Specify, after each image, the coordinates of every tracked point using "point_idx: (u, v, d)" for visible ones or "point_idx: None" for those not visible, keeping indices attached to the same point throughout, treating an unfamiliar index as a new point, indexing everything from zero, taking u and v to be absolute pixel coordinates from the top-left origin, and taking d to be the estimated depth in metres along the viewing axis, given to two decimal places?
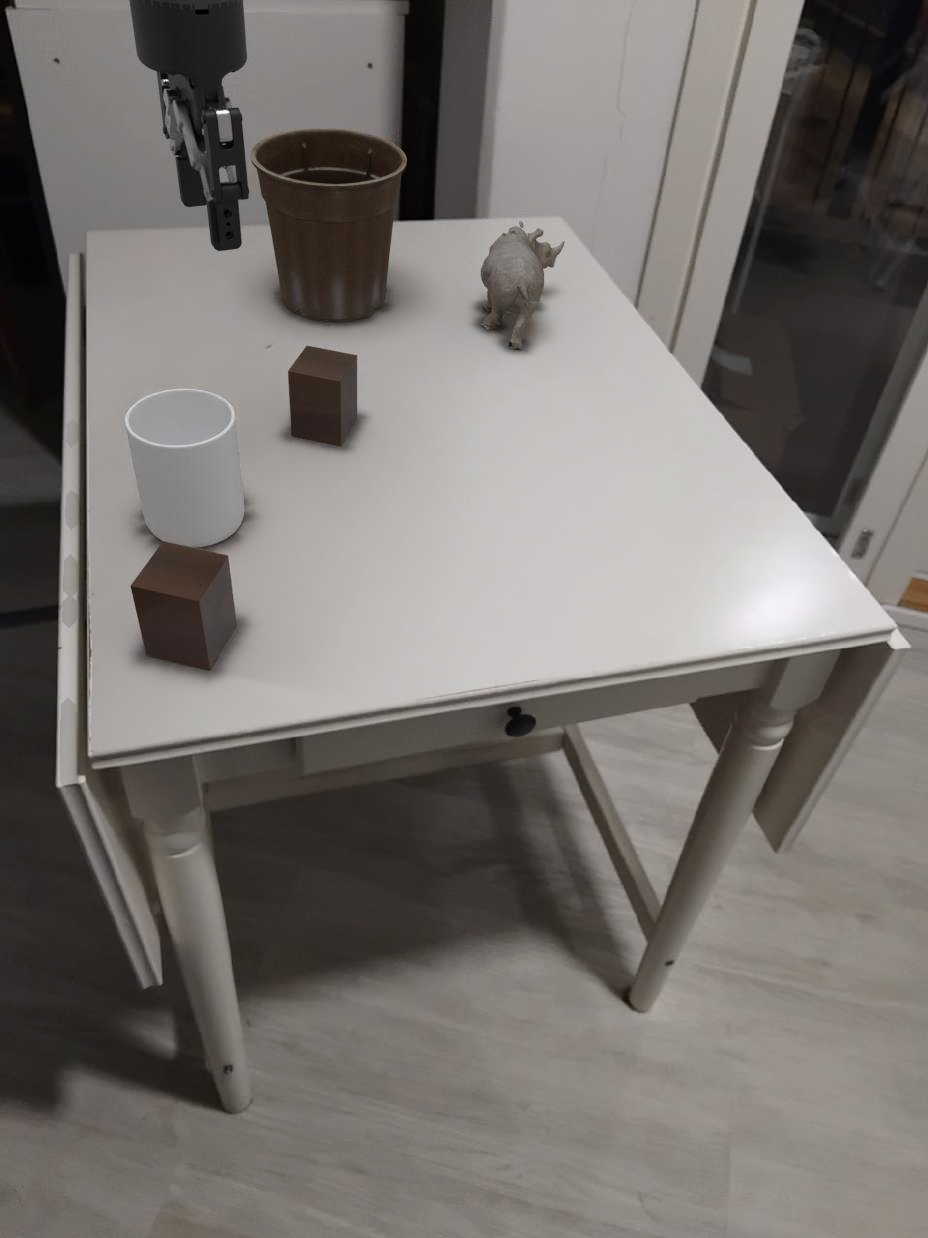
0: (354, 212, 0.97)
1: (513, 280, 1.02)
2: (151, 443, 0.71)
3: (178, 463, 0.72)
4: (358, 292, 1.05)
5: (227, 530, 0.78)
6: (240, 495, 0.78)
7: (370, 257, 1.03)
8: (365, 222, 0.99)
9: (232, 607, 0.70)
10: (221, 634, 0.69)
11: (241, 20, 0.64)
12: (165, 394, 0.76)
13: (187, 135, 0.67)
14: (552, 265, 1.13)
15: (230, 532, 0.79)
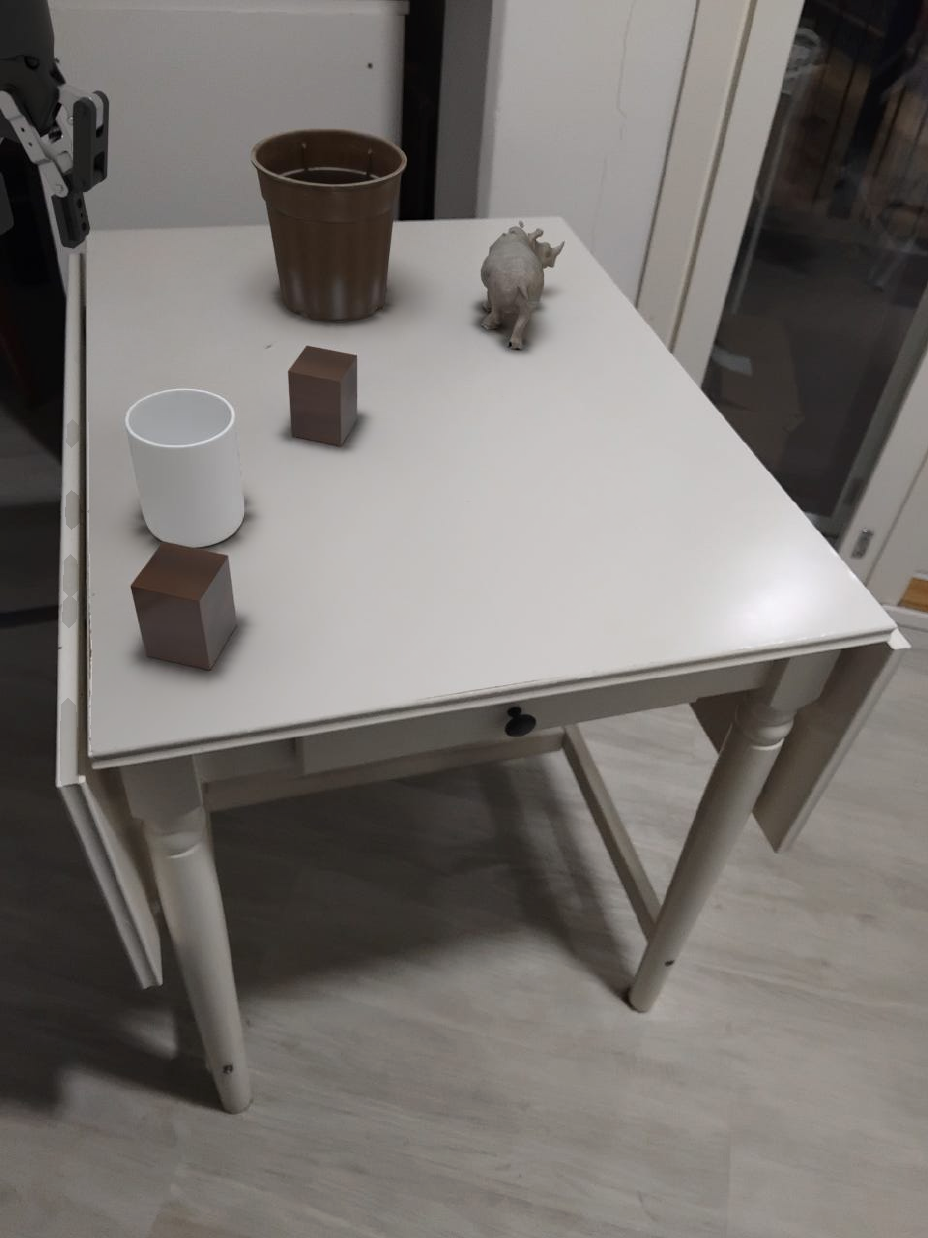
0: (354, 212, 0.97)
1: (513, 280, 1.02)
2: (151, 443, 0.71)
3: (178, 463, 0.72)
4: (358, 292, 1.05)
5: (227, 530, 0.78)
6: (240, 495, 0.78)
7: (370, 257, 1.03)
8: (365, 222, 0.99)
9: (232, 607, 0.70)
10: (221, 634, 0.69)
11: None
12: (165, 394, 0.76)
13: (30, 129, 0.62)
14: (552, 265, 1.13)
15: (230, 532, 0.79)
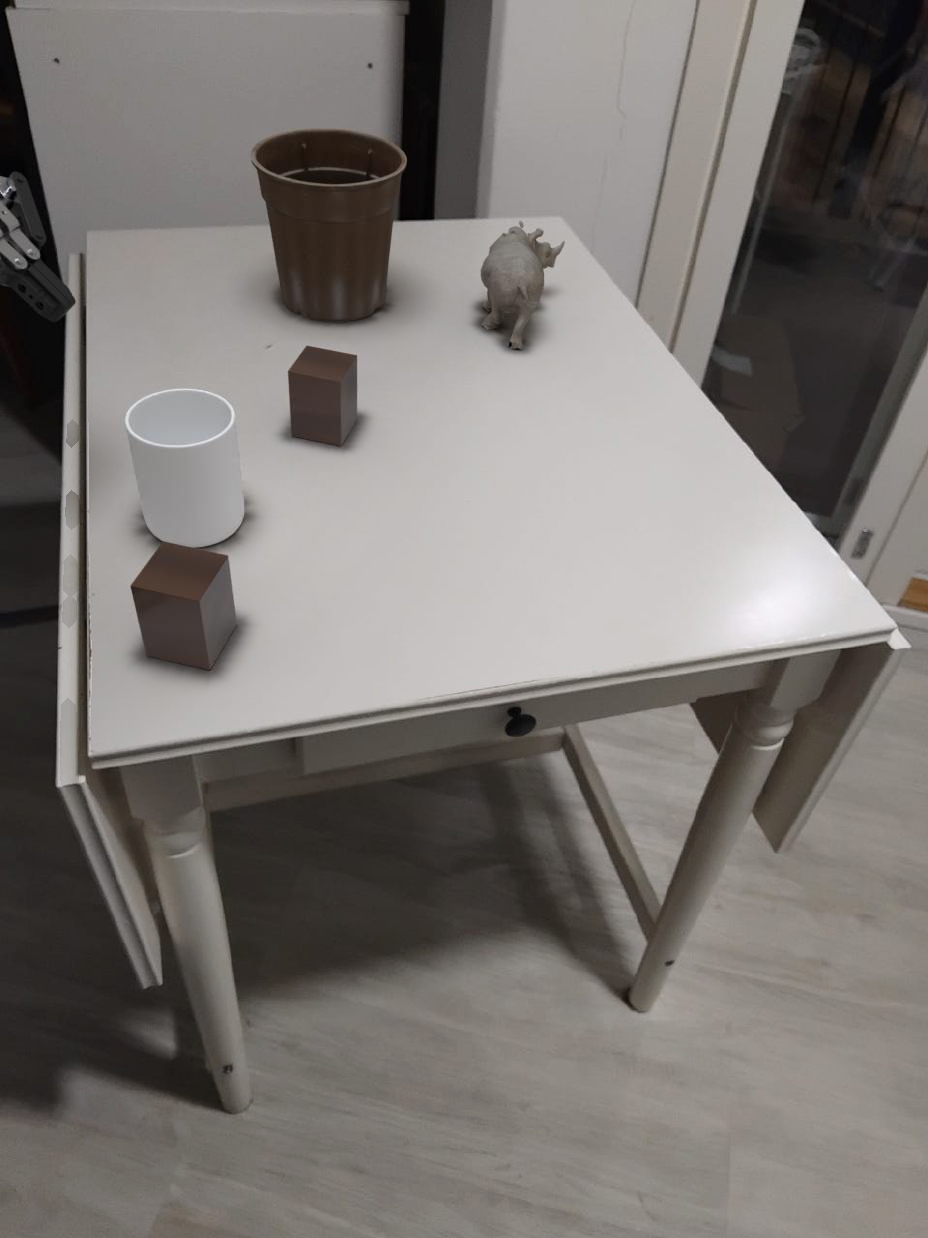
0: (354, 212, 0.97)
1: (513, 280, 1.02)
2: (151, 443, 0.71)
3: (178, 463, 0.72)
4: (358, 292, 1.05)
5: (227, 530, 0.78)
6: (240, 495, 0.78)
7: (370, 257, 1.03)
8: (365, 222, 0.99)
9: (232, 607, 0.70)
10: (221, 634, 0.69)
11: None
12: (165, 394, 0.76)
13: None
14: (552, 265, 1.13)
15: (230, 532, 0.79)
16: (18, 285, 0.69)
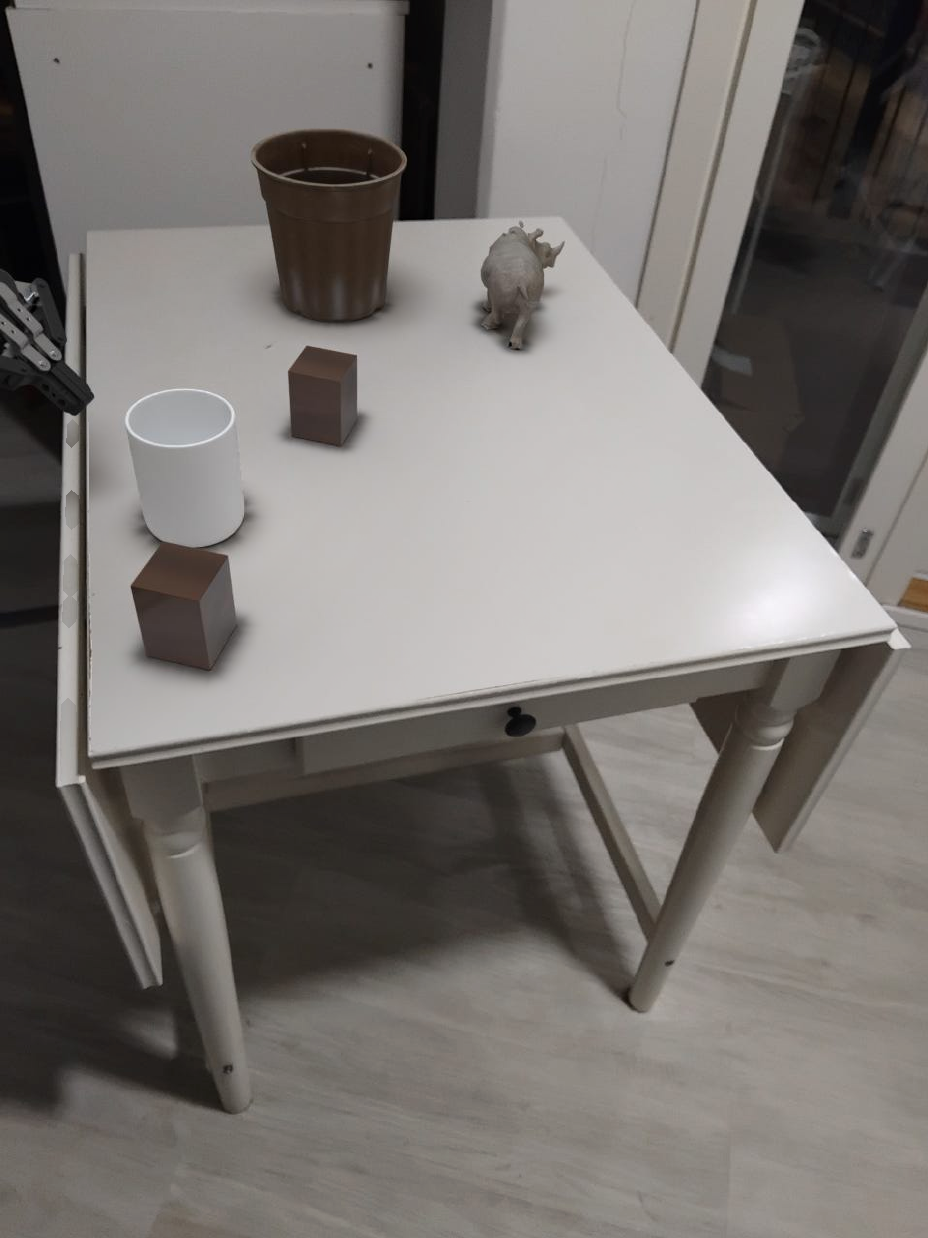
0: (354, 212, 0.97)
1: (513, 280, 1.02)
2: (151, 443, 0.71)
3: (178, 463, 0.72)
4: (358, 292, 1.05)
5: (227, 530, 0.78)
6: (240, 495, 0.78)
7: (370, 257, 1.03)
8: (365, 222, 0.99)
9: (232, 607, 0.70)
10: (221, 634, 0.69)
11: None
12: (165, 394, 0.76)
13: (24, 308, 0.74)
14: (552, 265, 1.13)
15: (230, 532, 0.79)
16: (42, 385, 0.75)
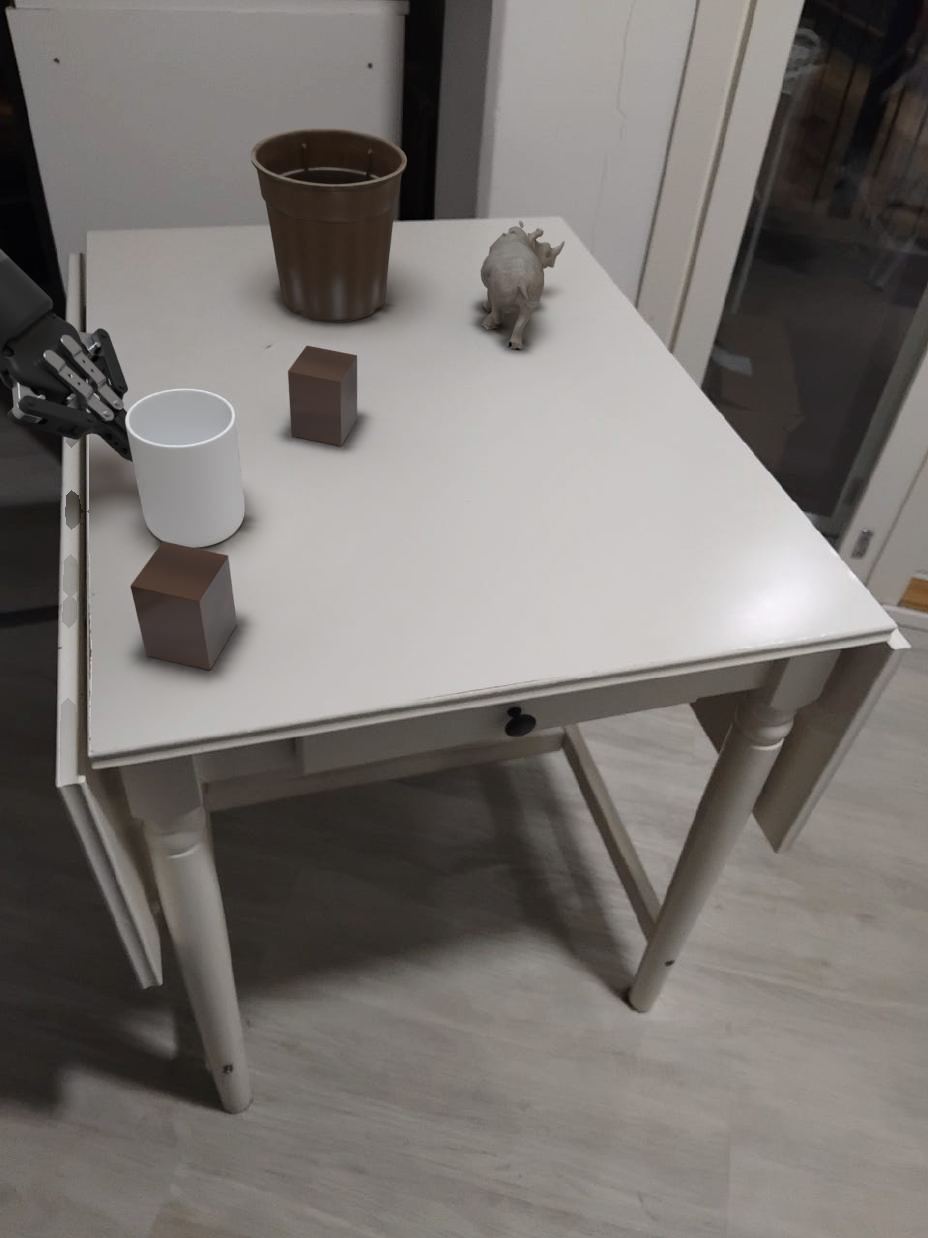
0: (354, 212, 0.97)
1: (513, 280, 1.02)
2: (151, 443, 0.71)
3: (178, 463, 0.72)
4: (358, 292, 1.05)
5: (227, 530, 0.78)
6: (240, 495, 0.78)
7: (370, 257, 1.03)
8: (365, 222, 0.99)
9: (232, 607, 0.70)
10: (221, 634, 0.69)
11: None
12: (165, 394, 0.76)
13: (88, 360, 0.76)
14: (552, 265, 1.13)
15: (230, 532, 0.79)
16: (105, 434, 0.77)
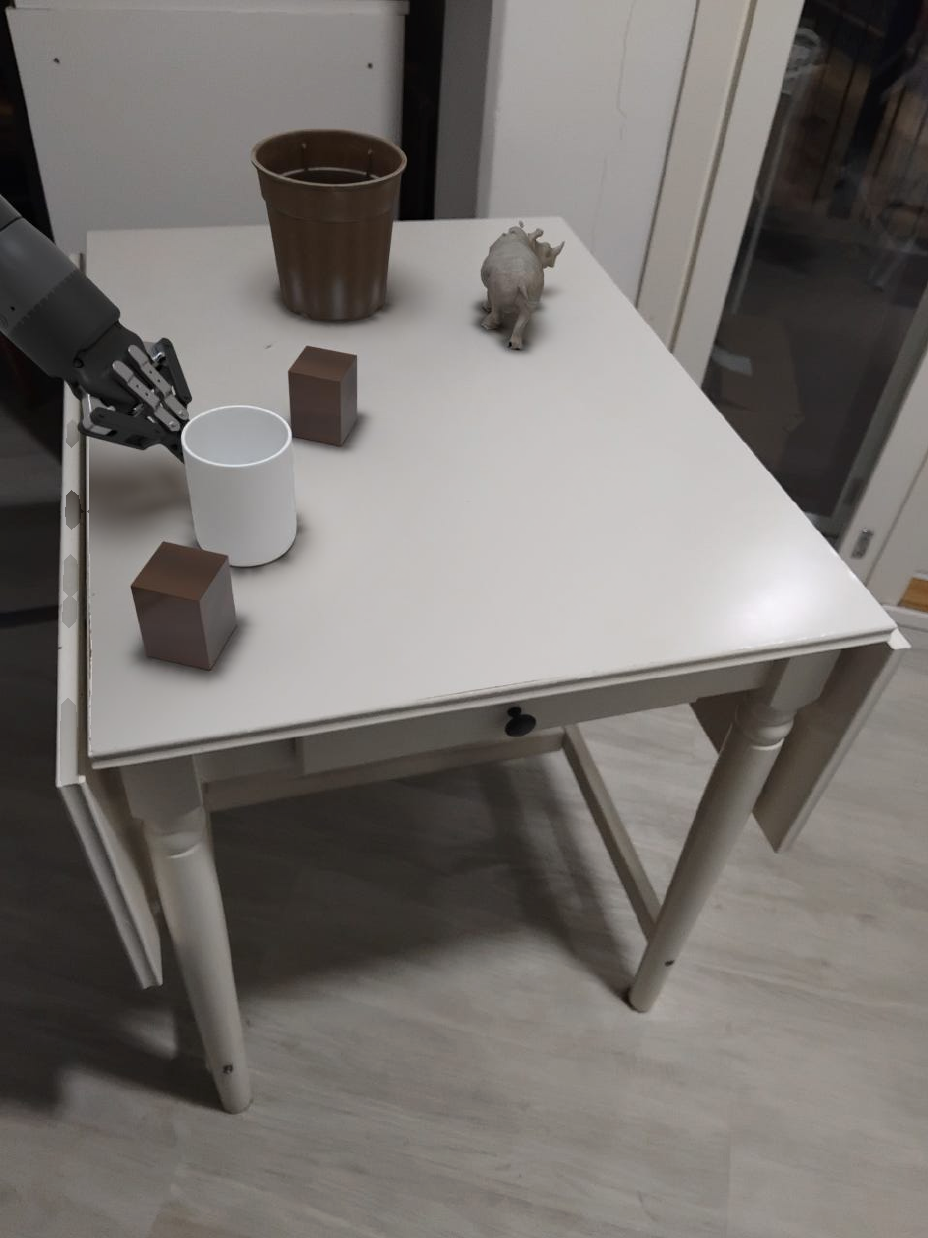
0: (354, 212, 0.97)
1: (513, 280, 1.02)
2: (195, 456, 0.70)
3: (218, 481, 0.70)
4: (358, 292, 1.05)
5: (267, 555, 0.76)
6: (287, 523, 0.76)
7: (370, 257, 1.03)
8: (365, 222, 0.99)
9: (232, 607, 0.70)
10: (221, 634, 0.69)
11: None
12: (235, 409, 0.75)
13: (155, 370, 0.76)
14: (552, 265, 1.13)
15: (271, 557, 0.77)
16: (171, 444, 0.77)
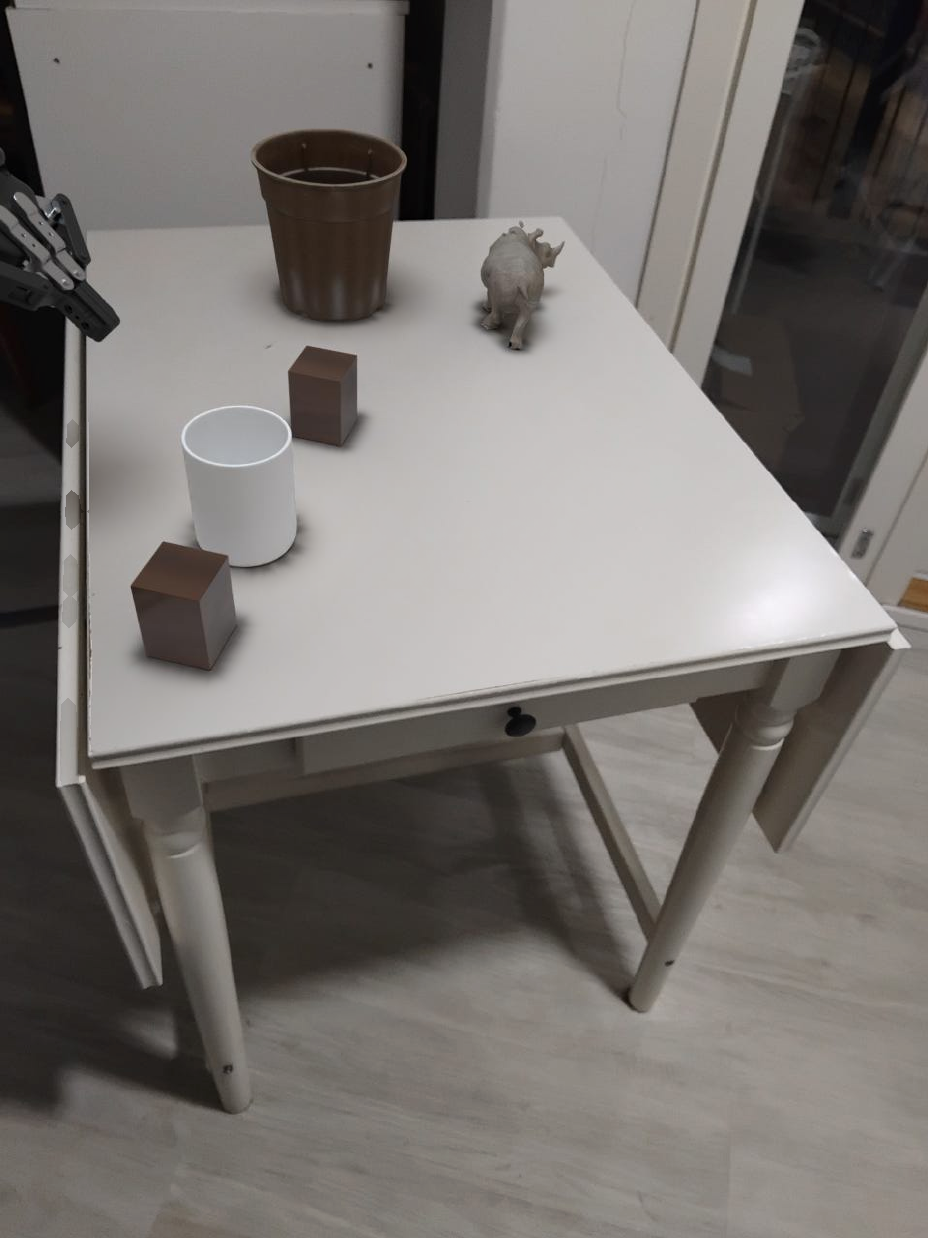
0: (354, 212, 0.97)
1: (513, 280, 1.02)
2: (195, 457, 0.70)
3: (218, 481, 0.70)
4: (358, 292, 1.05)
5: (267, 555, 0.76)
6: (287, 523, 0.76)
7: (370, 257, 1.03)
8: (365, 222, 0.99)
9: (232, 607, 0.70)
10: (221, 634, 0.69)
11: None
12: (235, 409, 0.75)
13: (46, 222, 0.69)
14: (552, 265, 1.13)
15: (271, 558, 0.77)
16: (64, 306, 0.69)
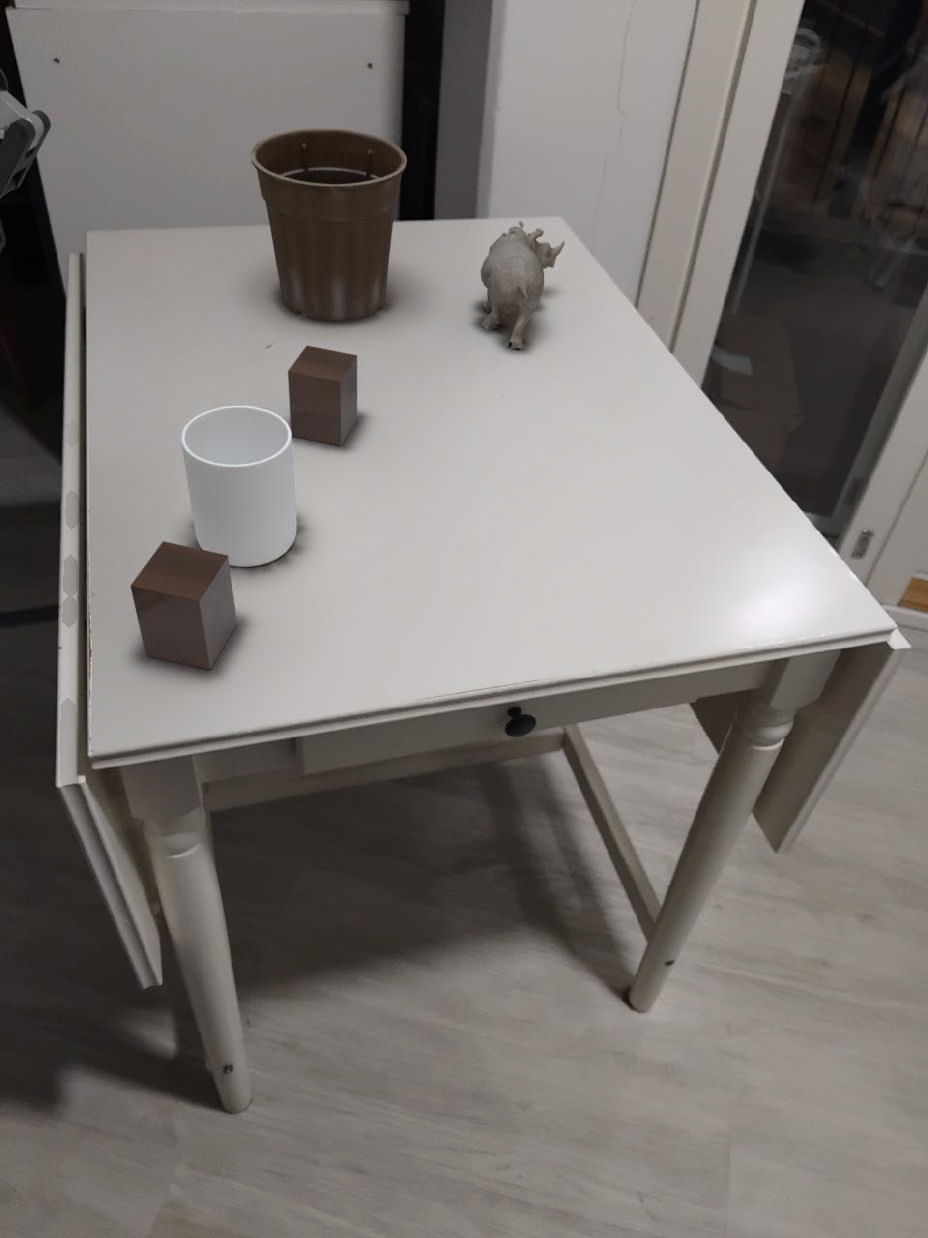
0: (354, 212, 0.97)
1: (513, 280, 1.02)
2: (195, 456, 0.70)
3: (218, 481, 0.70)
4: (358, 292, 1.05)
5: (267, 555, 0.76)
6: (287, 523, 0.76)
7: (370, 257, 1.03)
8: (365, 222, 0.99)
9: (232, 607, 0.70)
10: (221, 634, 0.69)
11: None
12: (235, 409, 0.75)
13: None
14: (552, 265, 1.13)
15: (271, 558, 0.77)
16: None
